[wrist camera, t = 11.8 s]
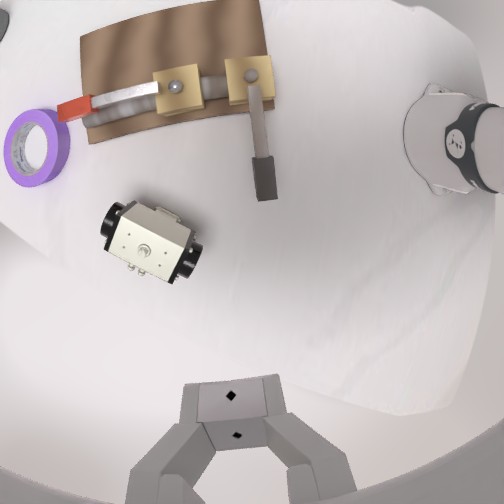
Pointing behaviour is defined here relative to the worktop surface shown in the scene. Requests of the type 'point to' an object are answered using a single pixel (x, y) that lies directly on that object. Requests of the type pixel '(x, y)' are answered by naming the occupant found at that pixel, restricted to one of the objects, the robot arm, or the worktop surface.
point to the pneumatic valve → (150, 241)
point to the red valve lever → (110, 99)
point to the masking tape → (55, 147)
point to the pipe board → (168, 52)
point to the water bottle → (3, 22)
